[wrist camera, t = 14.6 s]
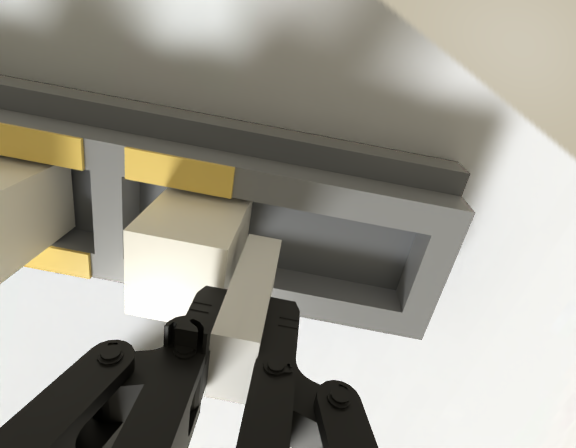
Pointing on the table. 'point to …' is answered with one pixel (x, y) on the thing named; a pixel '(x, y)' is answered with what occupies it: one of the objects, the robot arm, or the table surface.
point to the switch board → (251, 199)
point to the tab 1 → (32, 210)
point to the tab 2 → (181, 251)
